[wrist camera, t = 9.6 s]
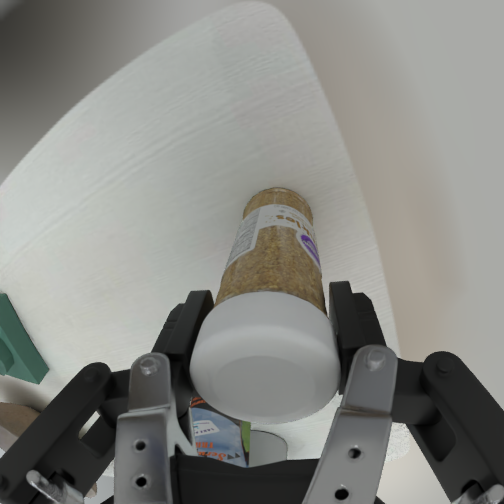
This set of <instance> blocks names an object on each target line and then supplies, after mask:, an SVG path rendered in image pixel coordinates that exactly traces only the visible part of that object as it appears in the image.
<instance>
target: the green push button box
mask: <svg viewBox="0 0 504 504" xmlns="http://www.w3.org/2000/svg"><path fill="white" fill-rule="evenodd" d="M48 370H49V368H48V367H47V365H46V364H45V362H44V361H43V359H42V358H41V356H40V355H39V353H38V351H37V350H36V348H35V347H34V345H33V343H32V342H31V340H30V338H29V337H28V335H27V333H26V331H25V330H24V328H23V326H22V324H21V322H20V321H19V319H18V317H17V315H16V313H15V311H14V309H13V307H12V305H11V304H10V302H9V300H8V297H7V295H6V294H0V374H1V375H3V376H5V374H6V375H9V376H12V377H15V378H19V379H22V380H25V381H28V382H32V383H35V384H40V382H41V381H42V379H43V378H44V376H45V375H46V373H47V372H48Z"/></svg>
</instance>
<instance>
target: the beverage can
mask: <svg viewBox="0 0 504 504" xmlns="http://www.w3.org/2000/svg"><path fill="white" fill-rule="evenodd" d="M190 407H191V410H192V417H193V425H194V433H195V440H196V447H197V452H198V455H199V456H200V457H211V458H214V459H217V460H220V461H224V462H227V463H230V464H234V465H237V466H241V467H246V468H248V467H249V452H250V428H251V422H248V421H243V420H239V419H236V418H233V417H230V416H228V415H226V414H224V413H222V412H220V411H218V410H216V409H215V408H213V407H212V406H211V405H209V404H208V403H207V402H206V401H205V400H204V399H203V398H200V397H192V399H191V404H190Z"/></svg>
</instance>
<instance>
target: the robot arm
mask: <svg viewBox="0 0 504 504" xmlns="http://www.w3.org/2000/svg"><path fill="white" fill-rule="evenodd" d="M213 308H214V302H213V298H212V294H211V292H210V290H201V291H191V292H190V293H189V295H188V297H187V300H186V302H185V303H184V304H178V305H177V306H176V307H175V308H174V309H173V310H172V311H171V312H170V314H169V316H168V318H167V320H166V321H167V322H165V324H164V326H163V329H162V330H161V332H160V334H159V337H158V339H157V341H156V343H155V345H154V347H153V349H152V351H151V353H147V354H145V355H142V356H141V357H139V358H138V359H136V360H135V362H134V363H133V364H132V366H131V369H128V370H123V371H117V372H111V370H110V368H109V367H108V366H107V365H106V364H105V363H101V362H96V363H91V364H89V365H87V366H85V367H84V368H83V369H82V370H81V371H80V372H79V373H78V374H77V375H76V376H75V377H74V378H73V379H72V380H71V381H70V382H69V383H68V384H67V385H66V386H65V387H64V388H63V390H62V391H61V392H60V393H59V394H58V395H57V396H56V397H55V398H54V399H53V400H52V401H51V402H50V404H49V405H48V406H47V407H46V408H45V409H44V410H43V411H42V412H41V413H40V414H39V416H38V417H37V418H36V419H35V420H34V421H33V422H32V423H31V424H30V425H29V427H28V428H27V429H26V430H25V431H24V432H23V433H22V434H21V436H20V437H19V438H18V439H17V440H16V441H15V442H14V443H13V445H12V446H11V447H10V448H9V449H8V450H7V451H6V453H5V454H4V455H3V456H2V457H1V458H0V503H2V504H84V497H85V496H86V495H87V493H88V492H89V491H90V489H91V488H92V487H93V485H94V484H95V483H96V481H97V480H98V479H99V477H100V476H101V475H102V473H103V472H104V471H105V469H106V468H107V467H108V465H109V464H110V463H111V461H112V460H113V459H114V457H115V464H114V495H113V496H111V497H110V498H108V499H107V500H105V501H104V502H102V503H101V504H385V503H384V502H383V501H382V500H380V499H379V498H378V497H377V496H376V493H377V490H378V486H379V482H380V478H381V474H382V470H383V466H384V461H385V457H386V452H387V447H388V442H389V437H390V431H391V426H392V422H396V423H405V424H406V426H407V428H408V429H409V431H410V433H411V434H412V435H413V437H414V439H415V441H416V443H417V444H418V446H419V447H420V449H421V451H422V453H423V454H424V456H425V458H426V460H427V461H428V463H429V465H430V467H431V468H432V470H433V472H434V473H435V475H436V477H437V479H438V481H439V482H440V484H441V486H442V488H443V489H444V491H445V493H446V495H447V497H448V498H449V500H450V502H451V504H504V411H503V409H502V408H501V407H500V406H499V404H498V403H497V402H496V401H495V400H494V398H493V397H492V396H491V395H490V393H489V392H488V391H487V390H486V388H485V387H484V386H483V385H482V384H481V383H480V381H479V380H478V379H477V378H476V377H475V375H474V374H473V373H472V372H471V371H470V370H469V368H468V367H467V366H466V365H465V364H464V363H463V362H462V361H461V359H460V358H459V357H457V356H456V355H454V354H452V353H450V352H445V351H439V352H434V353H432V354H430V355H429V356H428V357H427V358H426V359H425V361H424V362H413V361H406V360H403V359H400V358H398V357H397V356H396V354H395V353H394V351H393V350H391V349H390V348H388V347H387V345H386V342H385V339H384V336H383V333H382V330H381V327H380V324H379V321H378V318H377V315H376V313H375V311H374V307H373V304H372V301H371V299H369V298H368V297H367V296H366V295H365V294H364V293H363V292H362V293H352V290H351V287H350V283H349V281H339V282H330V283H329V320H330V322H331V323H332V325H333V327H334V329H335V332H336V335H337V341H338V347H339V353H340V362H341V381H340V385H339V388H338V392H339V395H343V398H342V401H341V404H340V407H338V408H337V411H336V413H335V416H334V419H333V422H332V426H331V429H330V432H329V435H328V437H327V440H326V443H325V446H324V449H323V452H322V454H321V457H320V458H318V459H301V460H283V461H279V462H274V463H270V464H265V465H260V466H255V467H248V468H246V467H241V466H237V465H234V464H230V463H227V462H224V461H220V460H217V459H214V458H211V457H200V456H199V455H198V452H197V447H196V440H195V433H194V425H193V417H192V410H191V407H190V401H191V398H192V397H200V398H202V397H201V396H200V395H199V394H198V392H197V391H196V389H195V387H194V385H193V383H192V380H191V377H190V361H191V357H192V353H193V350H194V346H195V343H196V340H197V337H198V334H199V331H200V328H201V326H202V323H203V321H204V320H205V318H206V317H207V315H208V314H209V313H210V312H211V311H212V310H213ZM95 411H97V412H98V414H99V415H100V417H99V418H98V419H97V420H96V422H95V423H94V424H93V425H92V426H91V428H90V429H89V430H88V431H87V433H86V434H85V435H84V436H83V437H82V439H81V440H80V441H79V438H78V434H79V431H80V429H81V428H82V427H83V426H84V424H85V423H86V422H87V421H88V420H89V418H90V417H91V416H92V415H93V414H94V412H95Z"/></svg>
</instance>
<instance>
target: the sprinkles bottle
mask: <svg viewBox="0 0 504 504" xmlns="http://www.w3.org/2000/svg"><path fill="white" fill-rule="evenodd" d="M321 279H322V272H321V266H320V260H319V255H318V249H317V243H316V237H315V233H314V230H313V217H312V213H311V210H310V207H309V205H308V204H307V203H306V201H305V200H304V199H303V198H302V197H301V196H299V195H298V194H297V193H295V192H293V191H290V190H287V189H284V188H271V189H268V190H264V191H262V192H260V193H258V194H257V195H255V196H253V197H252V199H251V200H250V201H249V203H248V204H247V206H246V207H245V210H244V213H243V221H242V223H241V225H240V227H239V230H238V232H237V235H236V238H235V241H234V244H233V247H232V250H231V253H230V256H229V259H228V262H227V265H226V267H225V270H224V273H223V276H222V279H221V285H220V289H219V292H218V295H217V298H216V302H215V304H214V308H213V310H212V311H211V312H210V313H209V314H208V315H207V317H206V318H205V320H204V321H203V323H202V326H201V328H200V331H199V334H198V337H197V340H196V343H195V346H194V350H193V353H192V357H191V361H190V377H191V380H192V383H193V385H194V387H195V389H196V391H197V392H198V394H199V395H200V396H201V397H202V398H203V399H204V400H205V401H206V402H207V403H208V404H209V405H211V406H212V407H213V408H215V409H216V410H218V411H220V412H222V413H224V414H226V415H228V416H230V417H233V418H236V419H239V420H243V421H248V422H253V423H262V424H278V423H286V422H292V421H296V420H299V419H302V418H305V417H307V416H310V415H312V414H314V413H316V412H317V411H319V410H320V409H322V408H323V407H324V406H326V405H327V404H328V403H329V402H330V401H331V399H332V398H333V397H334V396H335V394H336V392H337V391H338V388H339V385H340V381H341V362H340V353H339V347H338V341H337V335H336V332H335V329H334V327H333V325H332V323H331V322H330V320H329V318H328V316H327V311H326V307H325V298H324V292H323V286H322V281H321Z"/></svg>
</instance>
